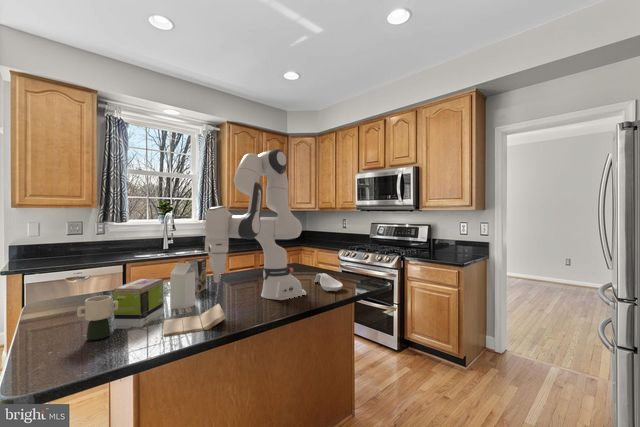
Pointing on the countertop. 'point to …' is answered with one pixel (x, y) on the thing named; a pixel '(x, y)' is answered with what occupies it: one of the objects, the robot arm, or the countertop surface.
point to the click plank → (212, 317)
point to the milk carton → (182, 286)
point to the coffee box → (199, 273)
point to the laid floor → (182, 325)
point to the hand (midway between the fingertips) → (216, 281)
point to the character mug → (98, 315)
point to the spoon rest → (328, 282)
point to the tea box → (138, 303)
